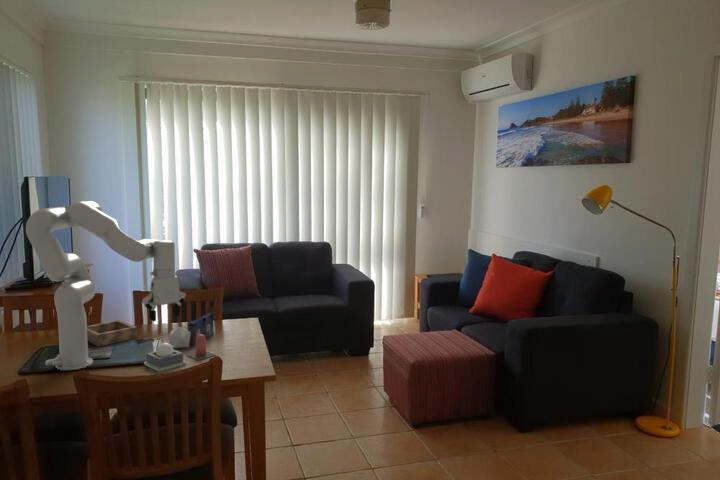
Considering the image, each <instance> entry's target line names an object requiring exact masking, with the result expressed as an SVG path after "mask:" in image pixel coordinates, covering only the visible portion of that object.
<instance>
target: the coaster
mask: <svg viewBox="0 0 720 480" xmlns="http://www.w3.org/2000/svg"><path fill="white" fill-rule="evenodd" d="M186 357H188V358H190V359H193V360H196V361H201V360H205V359H210V358H213V357H216V354H215V353H212V352H209V351H207V350H206V356H202V357H198V356H196V352H194V353H189V354H187V355H186Z"/></svg>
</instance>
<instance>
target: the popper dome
mask: <svg viewBox="0 0 720 480" xmlns="http://www.w3.org/2000/svg"><path fill="white" fill-rule="evenodd" d="M155 351H156V355H157V356H159V357H165V356H169V355H173V346H172V345H171V344H169V342H162V343H160V344H159V345H158V346H157V348H156V350H155Z"/></svg>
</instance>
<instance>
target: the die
mask: <svg viewBox="0 0 720 480" xmlns="http://www.w3.org/2000/svg"><path fill="white" fill-rule="evenodd" d="M190 336H191V332H189V331H188V329H186V328H184V327H181V326H178V327H176V328H174V329H172V330H170V334H169V337H168V339H169V340H168V341H169V342H168V343H169V344H170V345H171V346H172V347H174V348H176V349H183V348H185V347H187V346H189V341H190Z"/></svg>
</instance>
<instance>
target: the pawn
mask: <svg viewBox="0 0 720 480" xmlns="http://www.w3.org/2000/svg"><path fill="white" fill-rule="evenodd" d="M206 351H207V339H206V337H205V336H204V335H203V334H200V335H198V336H197V338H196V346H195V353H196V356H198V357H202V356H206Z"/></svg>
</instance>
